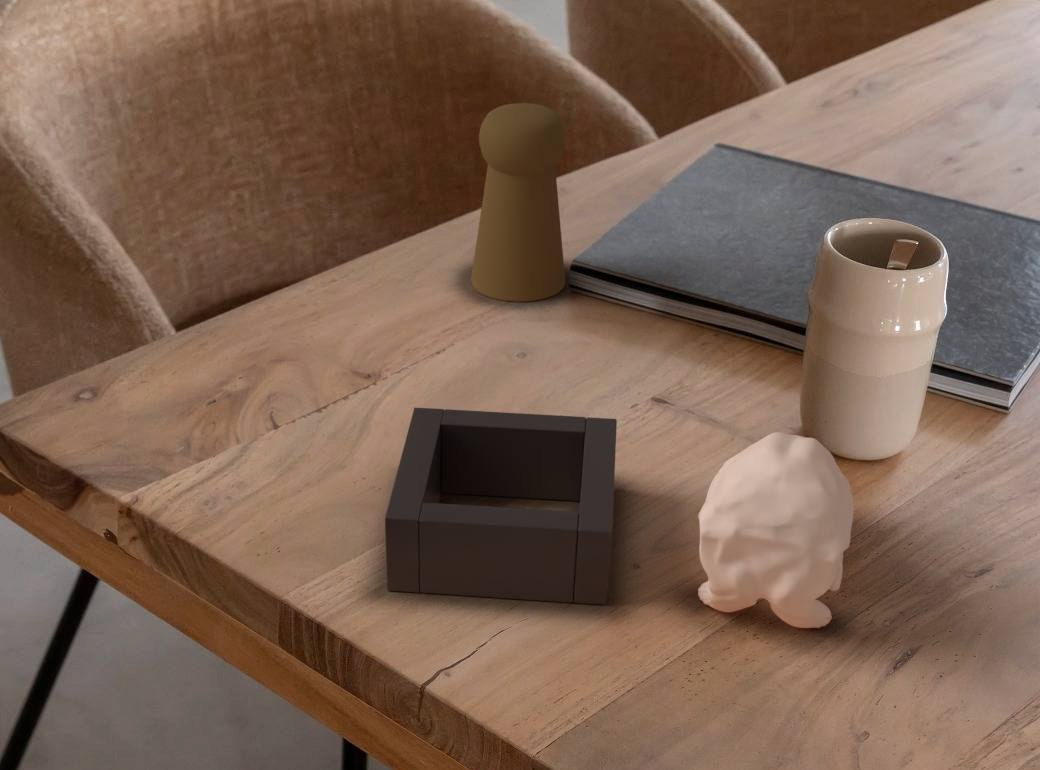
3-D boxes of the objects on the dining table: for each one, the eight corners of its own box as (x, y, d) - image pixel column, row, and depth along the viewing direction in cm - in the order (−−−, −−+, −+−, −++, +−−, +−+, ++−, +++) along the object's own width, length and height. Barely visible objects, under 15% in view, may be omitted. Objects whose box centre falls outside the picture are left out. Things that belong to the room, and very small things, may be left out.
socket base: (611, 487, 74) (616, 418, 72) (606, 605, 66) (612, 532, 64) (415, 475, 75) (414, 406, 72) (386, 591, 67) (384, 517, 65)
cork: (456, 292, 92) (457, 118, 86) (489, 256, 97) (492, 88, 90) (548, 308, 90) (555, 131, 84) (577, 269, 95) (586, 99, 88)
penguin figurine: (700, 459, 59) (752, 356, 69) (676, 636, 64) (728, 515, 73) (859, 488, 57) (890, 378, 67) (823, 668, 62) (856, 540, 72)
